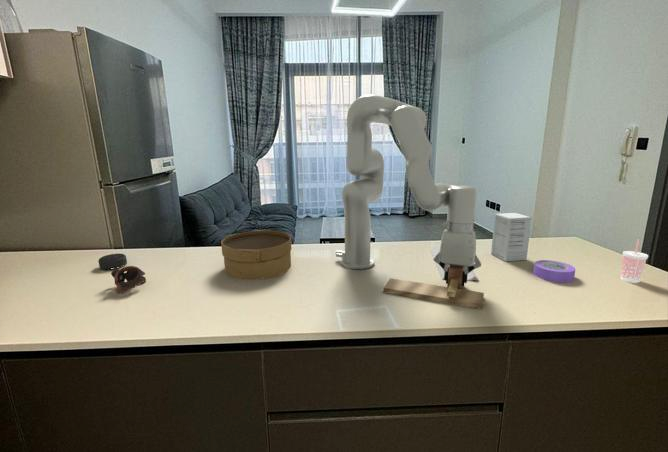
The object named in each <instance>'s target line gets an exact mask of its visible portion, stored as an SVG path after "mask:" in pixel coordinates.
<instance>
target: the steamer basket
mask: <svg viewBox="0 0 668 452" xmlns="http://www.w3.org/2000/svg"><path fill="white" fill-rule="evenodd" d="M220 243H221V255H222V257H223V262H224V263H223V264H224V272H225V274H226V275H227V276H228V277H230V278H233V279H238V280H245V279H246V280H247V281H248V280H252V281H253V280H264V279H270V278H273V277H274V278H275V277H277V276H279V275H282V274H285V273H286V272H288V271H289V270H290V268H291V267H292V255H291V254H292V253H291V251H292V249H293V248H292V236H291V235H290V234H288V233H286V232H282V231H277V230H253V231H252V230H251V231H245V232H239V233H235V234H231V235H229V236H227V237H225V238H223V239H222V240H221V242H220ZM263 278H264V279H263Z"/></svg>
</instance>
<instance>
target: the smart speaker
mask: <svg viewBox="0 0 668 452" xmlns="http://www.w3.org/2000/svg"><path fill="white" fill-rule="evenodd" d="M97 262H98V267H99V269H101V268H102V270H104V269H111V268H117V267H120V268H122V267H121V266H123V265H125V264H126V265H127V264H128V258H127V255H126V254H125V253H111V254H107V255H106V254H105V255H104V256H102V257H100V258H99V259H98V261H97ZM126 265H125V266H126ZM123 267H124V266H123ZM117 269H118V268H117ZM111 270H112V269H111Z"/></svg>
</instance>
